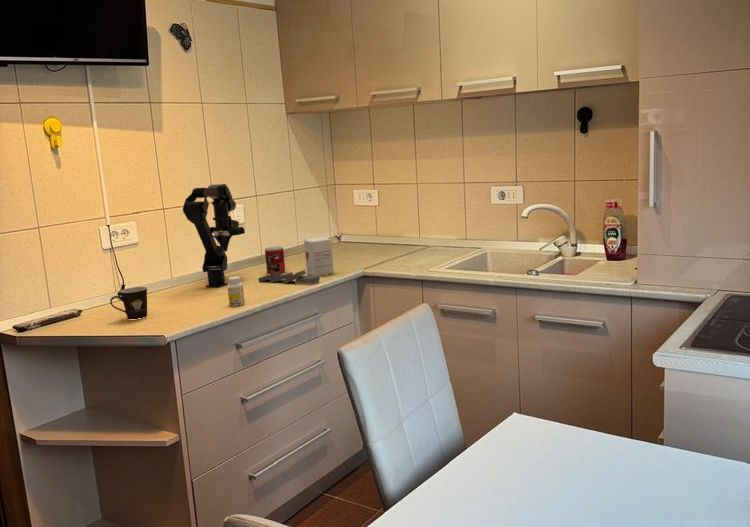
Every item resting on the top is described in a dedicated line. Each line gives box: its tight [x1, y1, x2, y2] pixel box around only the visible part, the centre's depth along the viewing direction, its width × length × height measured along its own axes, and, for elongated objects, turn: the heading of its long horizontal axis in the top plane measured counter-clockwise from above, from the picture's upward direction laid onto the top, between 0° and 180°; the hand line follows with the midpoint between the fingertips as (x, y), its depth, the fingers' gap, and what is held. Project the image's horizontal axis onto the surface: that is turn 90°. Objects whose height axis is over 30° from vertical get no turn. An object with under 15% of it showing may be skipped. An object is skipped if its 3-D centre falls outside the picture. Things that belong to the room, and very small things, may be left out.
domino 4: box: [294, 275, 320, 283], centre depth 277 cm, size 5×2×8 cm
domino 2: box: [269, 272, 294, 283], centre depth 283 cm, size 5×2×8 cm
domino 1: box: [257, 272, 282, 283], centre depth 286 cm, size 5×2×8 cm
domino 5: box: [294, 280, 320, 285], centre depth 278 cm, size 5×2×8 cm
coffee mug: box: [109, 286, 148, 320], centre depth 239 cm, size 12×9×10 cm
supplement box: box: [303, 236, 335, 277], centre depth 292 cm, size 9×9×15 cm
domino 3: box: [282, 269, 307, 284], centre depth 279 cm, size 5×2×8 cm
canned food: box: [264, 245, 286, 275], centre depth 302 cm, size 8×8×11 cm
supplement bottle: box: [226, 276, 245, 307], centre depth 249 cm, size 5×5×10 cm
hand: (225, 251), depth 294 cm, fingers closed
